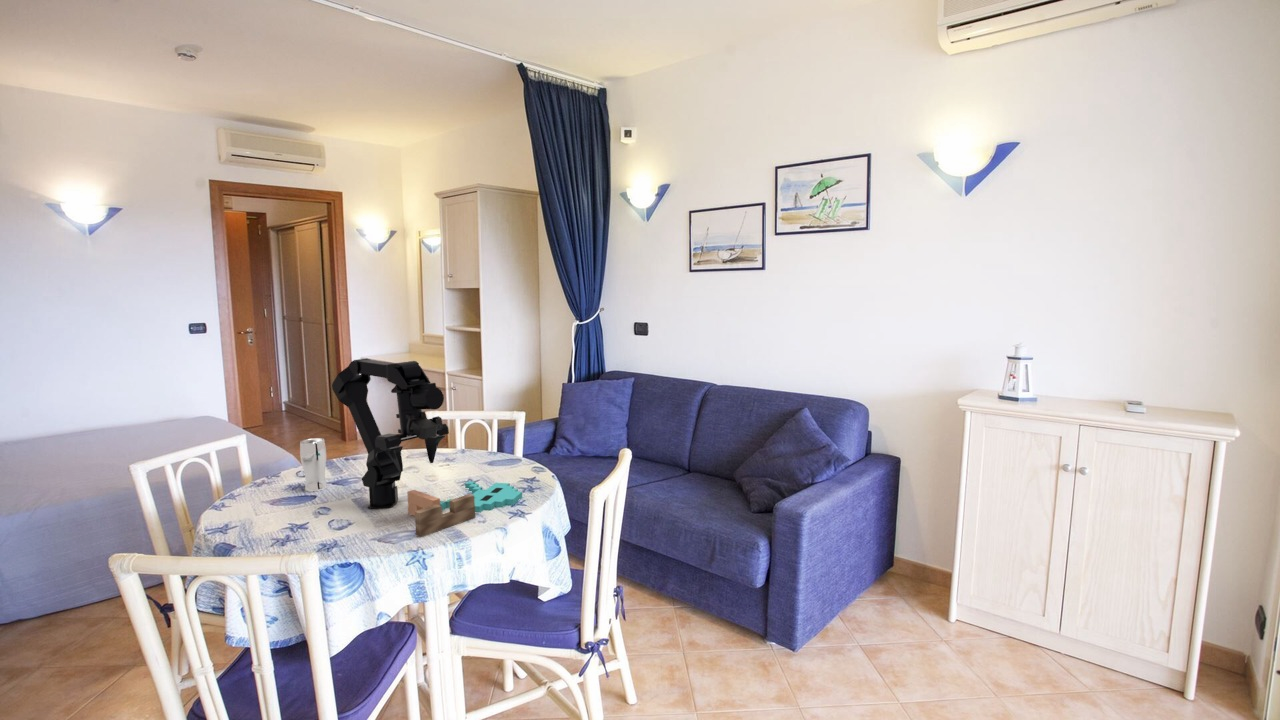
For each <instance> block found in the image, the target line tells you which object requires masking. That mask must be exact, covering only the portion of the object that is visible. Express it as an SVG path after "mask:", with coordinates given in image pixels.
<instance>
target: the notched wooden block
mask: <svg viewBox="0 0 1280 720" xmlns="http://www.w3.org/2000/svg"><path fill="white" fill-rule="evenodd" d="M451 499H452V500H449V499H448V500H449V504H450V508H449V512H445V513H443V510H442V506H440V505H433V506H430V507H427V508H424V509H421V510H418V511H415V516H414V520H415V521H414V524H415V535H416V536H417V537H420V538H422V537H424V536H427V535H430V534H433V533H436V532H438V531H441V530H444V529H447V528H450V527H453V526H456V525H459V524H461V523H465V522H467V521H470V520H473V519H475V518H476V513H475V500H474V495H472V493H468V494H466V495H465V494H464V495H461V496H458V497H457V498H456V497H455V498H451Z"/></svg>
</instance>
